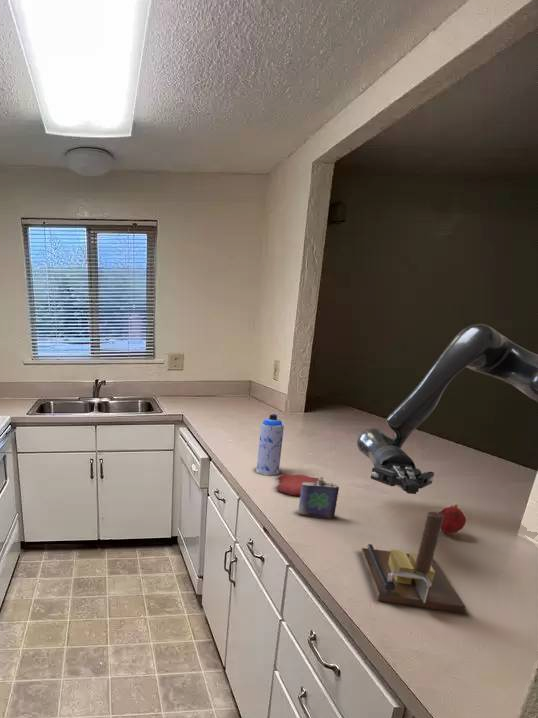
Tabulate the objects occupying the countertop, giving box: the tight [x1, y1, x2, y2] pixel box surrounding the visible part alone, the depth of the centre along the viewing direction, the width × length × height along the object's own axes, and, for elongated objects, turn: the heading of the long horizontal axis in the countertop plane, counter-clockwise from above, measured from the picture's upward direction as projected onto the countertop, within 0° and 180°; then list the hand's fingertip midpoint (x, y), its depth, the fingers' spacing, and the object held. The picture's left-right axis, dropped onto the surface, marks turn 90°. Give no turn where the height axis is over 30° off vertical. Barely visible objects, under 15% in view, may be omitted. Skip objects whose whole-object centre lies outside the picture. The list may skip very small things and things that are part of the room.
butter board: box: [360, 543, 466, 614], centre depth 88 cm, size 14×18×5 cm
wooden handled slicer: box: [382, 511, 444, 603], centre depth 79 cm, size 8×6×16 cm
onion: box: [438, 503, 467, 535], centre depth 106 cm, size 6×6×8 cm
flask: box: [297, 476, 340, 519], centre depth 116 cm, size 9×3×11 cm, turn 75°
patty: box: [276, 473, 319, 497], centre depth 136 cm, size 17×14×2 cm
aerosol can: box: [255, 413, 285, 476], centre depth 148 cm, size 8×8×20 cm
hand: (412, 489), depth 90 cm, fingers closed
